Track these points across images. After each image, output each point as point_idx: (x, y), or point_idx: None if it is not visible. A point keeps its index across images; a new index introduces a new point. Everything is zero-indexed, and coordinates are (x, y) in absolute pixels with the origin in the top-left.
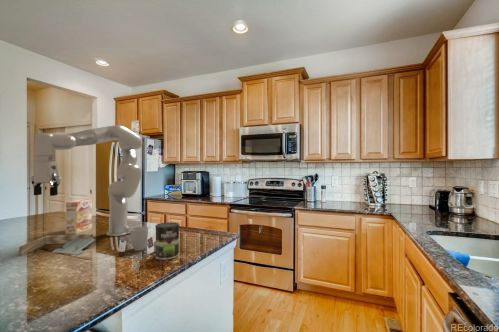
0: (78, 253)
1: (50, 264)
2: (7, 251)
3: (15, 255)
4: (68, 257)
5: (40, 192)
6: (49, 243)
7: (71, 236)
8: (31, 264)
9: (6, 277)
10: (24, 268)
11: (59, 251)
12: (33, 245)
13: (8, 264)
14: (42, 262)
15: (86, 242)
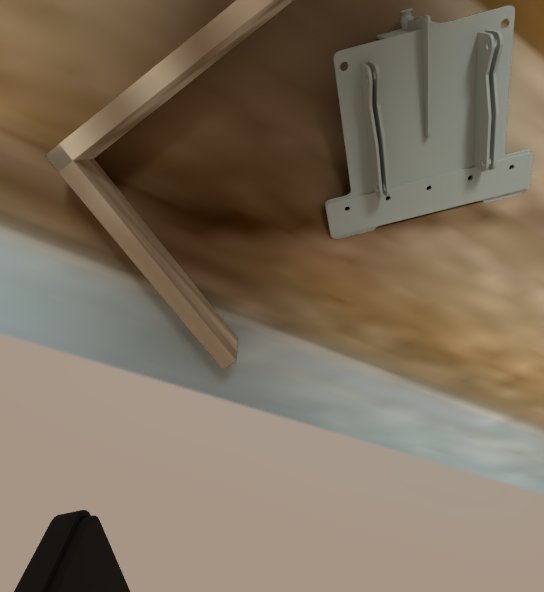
0: (525, 184)
1: (522, 336)
2: (70, 342)
3: (201, 352)
4: (514, 241)
5: (83, 572)
6: (111, 144)
7: (229, 38)
8: (433, 374)
9: (491, 473)
10: (457, 408)
11: (378, 217)
12: (173, 272)
13: (330, 418)
14: (455, 339)
15: (490, 80)
